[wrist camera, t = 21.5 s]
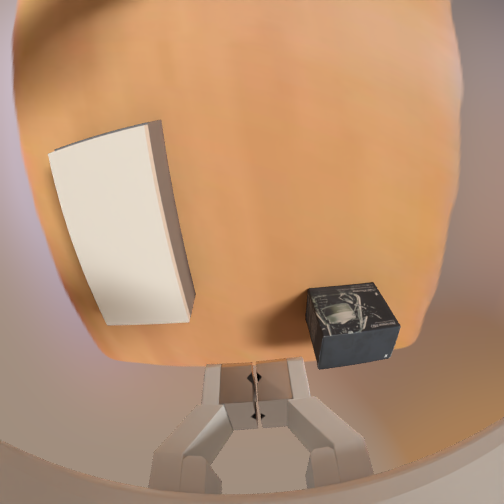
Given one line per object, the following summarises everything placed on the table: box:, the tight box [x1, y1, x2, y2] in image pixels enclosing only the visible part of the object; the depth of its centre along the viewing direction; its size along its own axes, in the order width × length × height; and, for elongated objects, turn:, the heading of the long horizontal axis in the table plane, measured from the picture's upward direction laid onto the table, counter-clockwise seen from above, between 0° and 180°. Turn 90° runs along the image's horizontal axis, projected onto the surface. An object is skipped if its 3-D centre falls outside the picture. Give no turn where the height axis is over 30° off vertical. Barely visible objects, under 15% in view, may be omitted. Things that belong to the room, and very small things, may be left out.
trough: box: [55, 120, 196, 317], centre depth 33 cm, size 24×13×5 cm, turn 5°
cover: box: [48, 124, 190, 325], centre depth 30 cm, size 24×12×1 cm, turn 5°
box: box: [305, 283, 401, 369], centre depth 38 cm, size 11×7×10 cm, turn 93°
